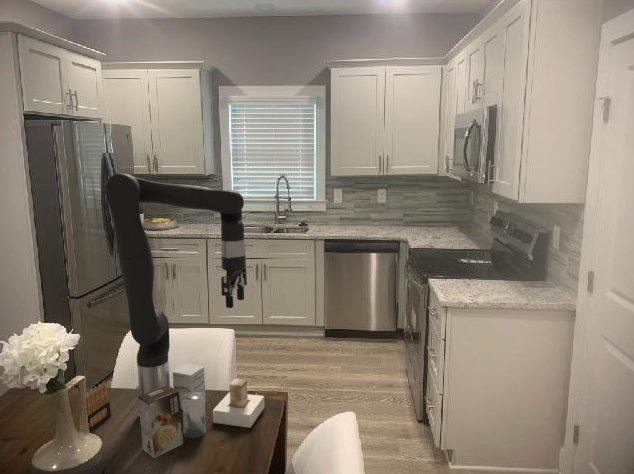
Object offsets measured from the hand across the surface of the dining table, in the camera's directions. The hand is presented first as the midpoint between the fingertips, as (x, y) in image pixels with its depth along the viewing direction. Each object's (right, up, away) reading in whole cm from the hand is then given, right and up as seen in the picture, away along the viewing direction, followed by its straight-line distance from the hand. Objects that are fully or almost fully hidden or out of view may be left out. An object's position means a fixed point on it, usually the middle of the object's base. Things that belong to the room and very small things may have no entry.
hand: (235, 303), depth 160 cm
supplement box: (-15, -34, +2) cm, 37 cm away
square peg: (+2, -34, -4) cm, 35 cm away
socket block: (+2, -34, -4) cm, 34 cm away
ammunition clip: (-41, -36, -8) cm, 55 cm away
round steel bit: (-10, -36, -13) cm, 39 cm away
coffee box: (-17, -37, -21) cm, 46 cm away
